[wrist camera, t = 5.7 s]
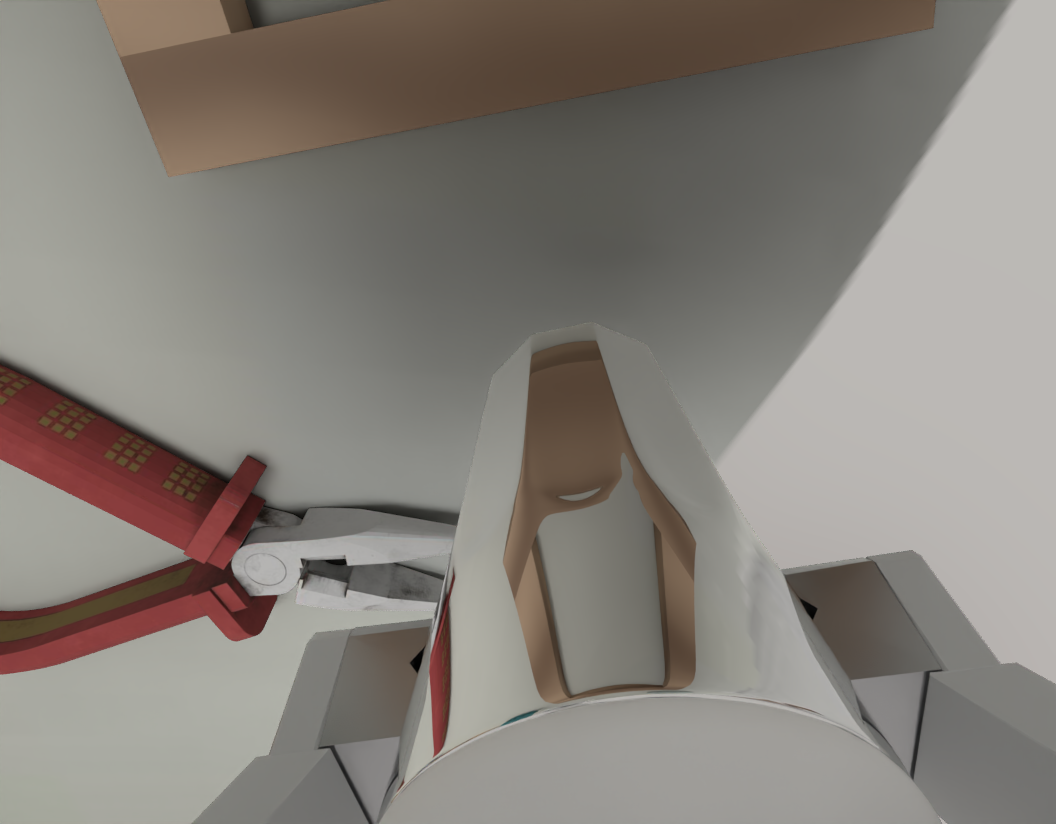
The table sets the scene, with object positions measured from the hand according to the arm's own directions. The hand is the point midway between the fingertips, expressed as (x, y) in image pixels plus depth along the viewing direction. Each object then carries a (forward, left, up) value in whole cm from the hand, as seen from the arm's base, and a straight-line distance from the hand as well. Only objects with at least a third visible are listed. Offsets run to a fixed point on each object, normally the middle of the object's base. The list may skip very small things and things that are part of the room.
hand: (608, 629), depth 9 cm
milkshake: (0, 0, -5) cm, 5 cm away
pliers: (+7, -15, -13) cm, 21 cm away
